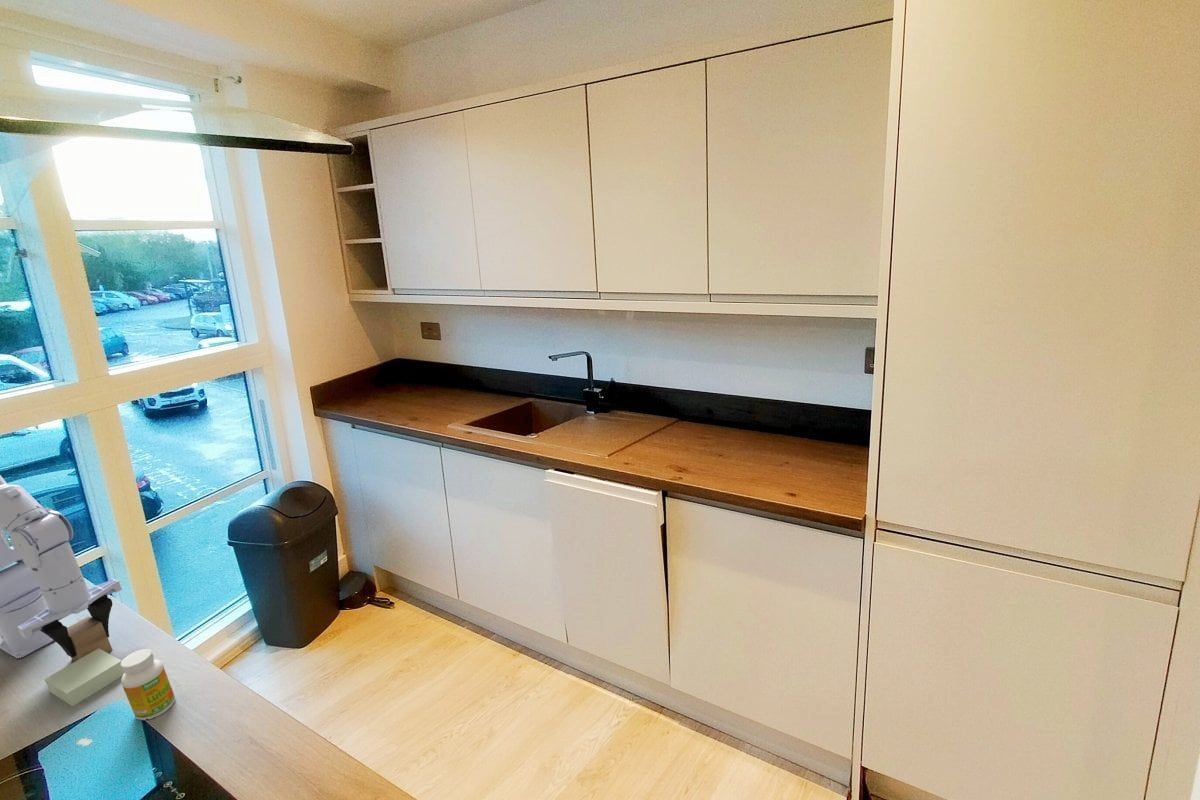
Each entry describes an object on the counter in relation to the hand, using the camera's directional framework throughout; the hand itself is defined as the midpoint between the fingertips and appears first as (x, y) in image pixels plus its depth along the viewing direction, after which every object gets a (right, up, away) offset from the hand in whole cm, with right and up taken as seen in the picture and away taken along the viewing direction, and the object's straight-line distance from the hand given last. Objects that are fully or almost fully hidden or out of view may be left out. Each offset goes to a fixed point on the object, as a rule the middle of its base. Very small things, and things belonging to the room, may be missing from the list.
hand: (88, 645), depth 112 cm
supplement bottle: (+22, -5, -14) cm, 26 cm away
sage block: (+5, -4, -6) cm, 9 cm away
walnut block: (0, -2, +1) cm, 2 cm away
